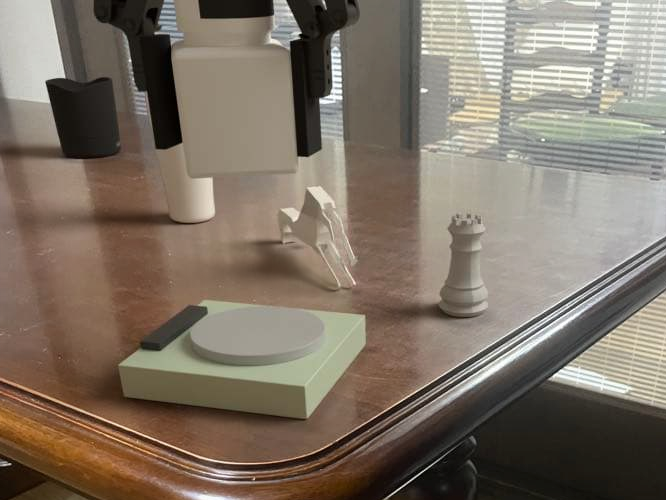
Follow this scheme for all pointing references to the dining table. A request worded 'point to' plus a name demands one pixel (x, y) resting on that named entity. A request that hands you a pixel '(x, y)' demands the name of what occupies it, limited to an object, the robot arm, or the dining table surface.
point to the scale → (245, 358)
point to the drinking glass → (183, 185)
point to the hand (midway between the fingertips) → (238, 149)
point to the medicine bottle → (233, 90)
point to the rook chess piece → (464, 269)
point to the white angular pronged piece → (316, 228)
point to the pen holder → (85, 117)
